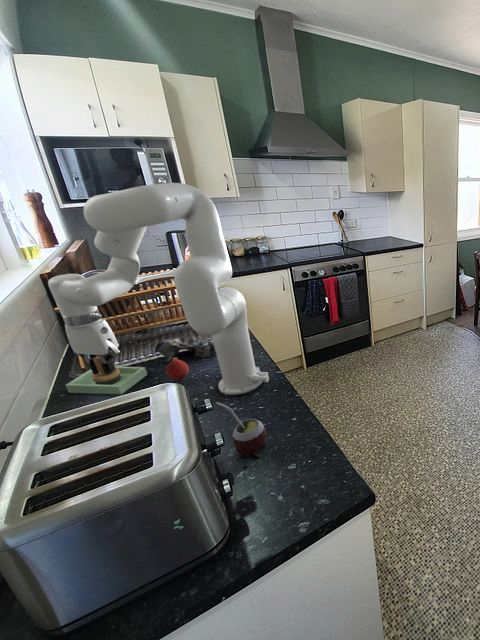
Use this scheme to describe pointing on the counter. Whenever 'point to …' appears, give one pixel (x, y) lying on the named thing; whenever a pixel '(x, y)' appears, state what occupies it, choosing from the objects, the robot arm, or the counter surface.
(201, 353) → the foil
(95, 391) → the tray
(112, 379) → the brush
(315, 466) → the counter surface
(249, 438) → the mate gourd
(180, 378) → the onion
